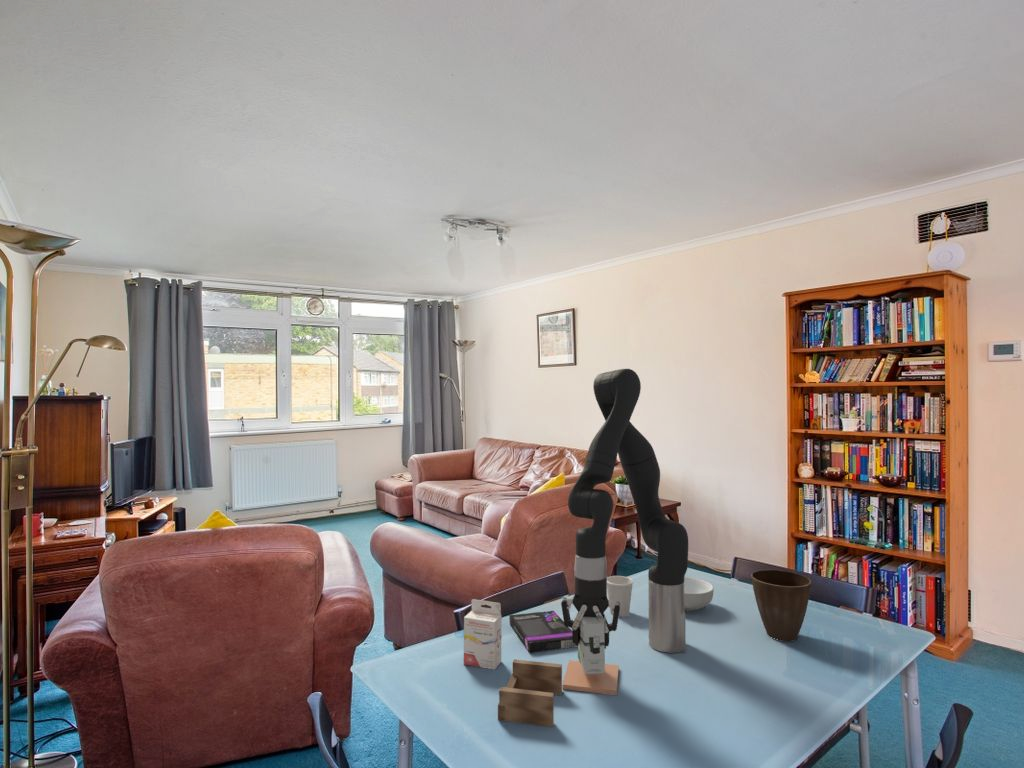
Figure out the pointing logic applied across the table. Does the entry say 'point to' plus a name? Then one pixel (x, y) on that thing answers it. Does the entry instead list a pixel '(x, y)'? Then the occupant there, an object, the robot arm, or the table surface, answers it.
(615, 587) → the dixie cup
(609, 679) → the terracotta tile
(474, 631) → the ink cartridge box
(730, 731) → the table surface
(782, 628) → the plant pot
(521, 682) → the walnut slot rack
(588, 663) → the ink box
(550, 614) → the box
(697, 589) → the cereal bowl
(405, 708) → the table surface
